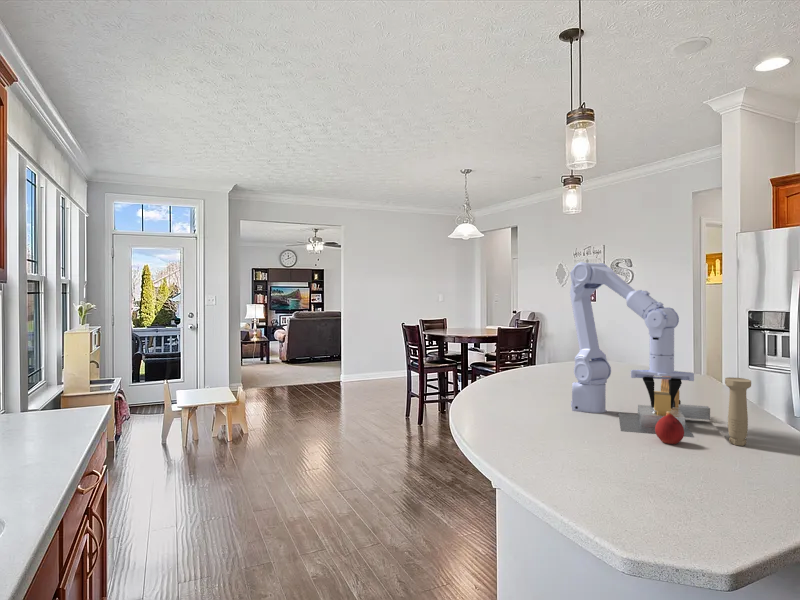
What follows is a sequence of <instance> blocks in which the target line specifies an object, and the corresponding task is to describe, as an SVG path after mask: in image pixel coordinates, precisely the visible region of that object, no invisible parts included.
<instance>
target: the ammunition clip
mask: <svg viewBox="0 0 800 600" xmlns="http://www.w3.org/2000/svg"><path fill="white" fill-rule="evenodd" d="M661 377H670V376H661ZM660 391H661V392H669V379H661V383H660ZM679 404H682V402H681V399H680V389H679V390H678V392H677V394H676V396H675V399H674V402H673V407H677V408H678V407H679Z"/></svg>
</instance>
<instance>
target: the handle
mask: <svg viewBox="0 0 800 600" xmlns="http://www.w3.org/2000/svg"><path fill="white" fill-rule="evenodd" d="M724 383H725V386H726V387H727V388H728V389H729V398H728V399H729V400H728V411H727V428H728V430H727V431H728V440H729V444H731V445H734V446H739V447H743V446H745V445H746V444H747V437H748V429H749V428H748V427H749V426H748V425H749V418H748V417H749V416H748V401H747V399H748V397H747V390H748V389H749V388H751V387H752V380H750V379H749V378H744V377H724Z"/></svg>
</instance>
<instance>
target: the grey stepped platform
mask: <svg viewBox="0 0 800 600" xmlns="http://www.w3.org/2000/svg"><path fill="white" fill-rule="evenodd" d="M667 412H670V411H667ZM670 413H671V414H672V415H673V416H674V417H675V418H677V419H678V420H679V421H680V423H681V424H682V426H683V428H684V437H683V438H686V437H687V438H695V436H694V434H693V433H692V431H691V430H690V429H689V427H688V425H687V424H686V419H694V420H704V421H705V420H707V421H708V420H709V421H711V408H710V407H709V406H708V405H698V404H697V405H694V404H682V403H681V404H679V407H678V408H677V407H673V408H671V412H670ZM617 414H618V419H619V427H620V432H626V433H636V434H637V433H638V434H639V433H640V434H650V435H656V432H655V426H656V424H657V422H658V421H659V420H660V419H661V418H662V417H664V416H666V415H657V411H656V410H654V407H651V405H645V404H644V405H643V404H637V414H634V413H633V414H632V413H631V414H630V413H620V412H619V413H617Z"/></svg>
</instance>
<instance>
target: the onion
mask: <svg viewBox="0 0 800 600" xmlns="http://www.w3.org/2000/svg"><path fill="white" fill-rule="evenodd" d="M655 432H656V434H655V435H656V436H657V438H658V439H659V440H660V441H661V442H662V443H663V444H666V445H677V444H679V443H680V442H681V441H682V440H683V438H685V437H684V428H683V426H682V424H681V423H680V421H679V420H678V419H677V418H675V417H674V416H673V415H672V414H671V413H670V412H666V416H664V417H662V418H661V419H660V420H659V421H658V422H657V424H656V426H655Z"/></svg>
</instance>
